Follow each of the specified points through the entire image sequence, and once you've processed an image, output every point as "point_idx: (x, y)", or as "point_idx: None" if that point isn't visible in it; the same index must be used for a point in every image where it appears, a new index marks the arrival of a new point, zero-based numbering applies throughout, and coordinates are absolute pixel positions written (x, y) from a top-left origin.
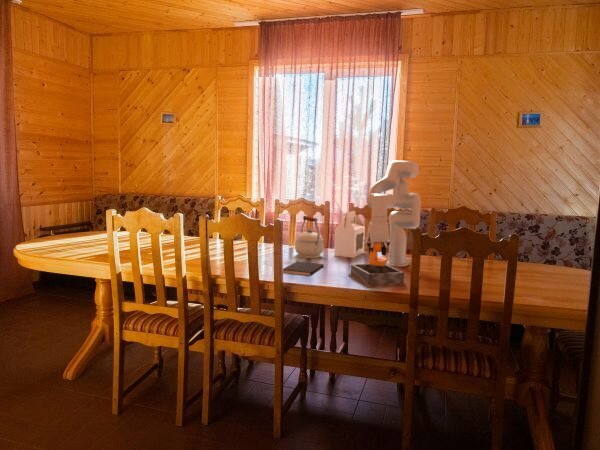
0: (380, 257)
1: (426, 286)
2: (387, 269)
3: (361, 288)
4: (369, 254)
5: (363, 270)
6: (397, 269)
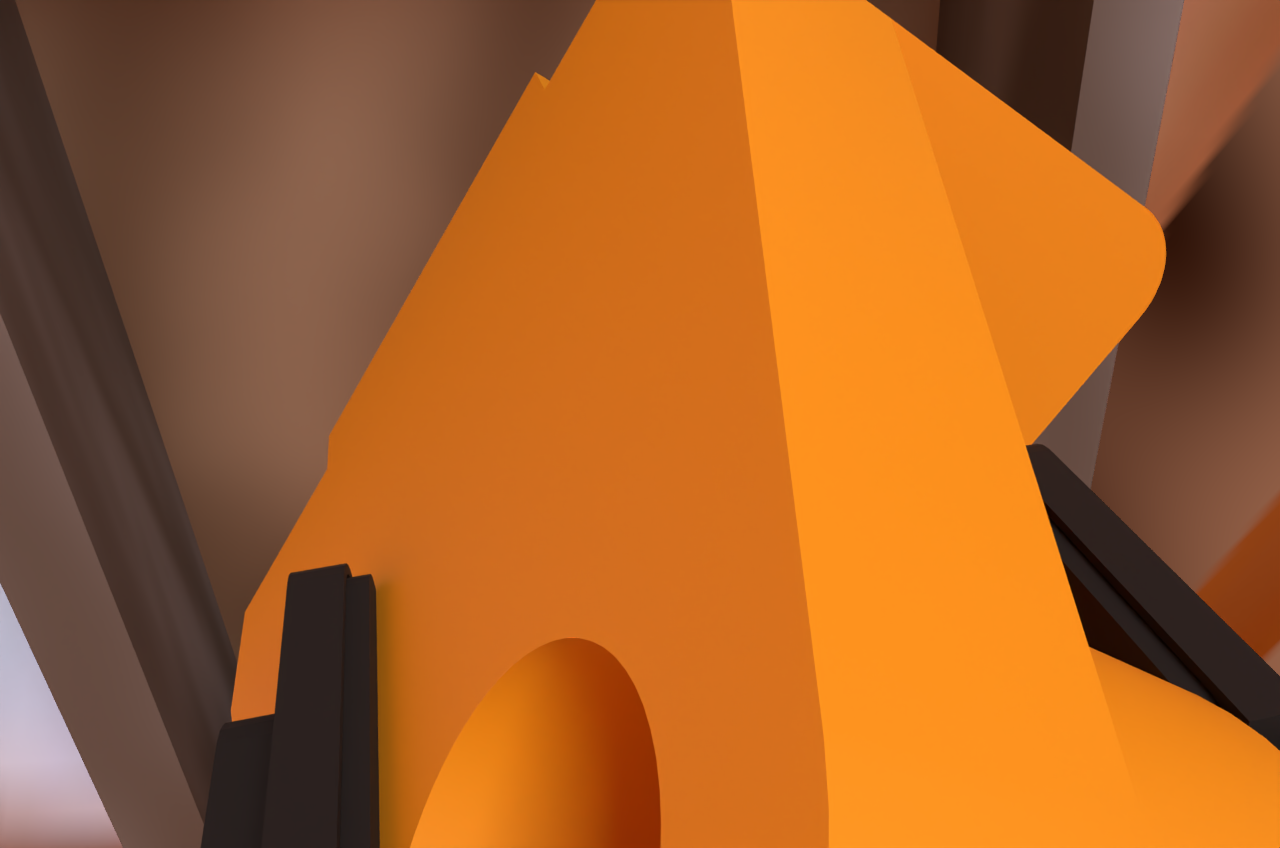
0: (968, 149)
1: (1215, 611)
2: (1029, 11)
3: (36, 768)
4: (296, 598)
5: (65, 589)
6: (1091, 458)
